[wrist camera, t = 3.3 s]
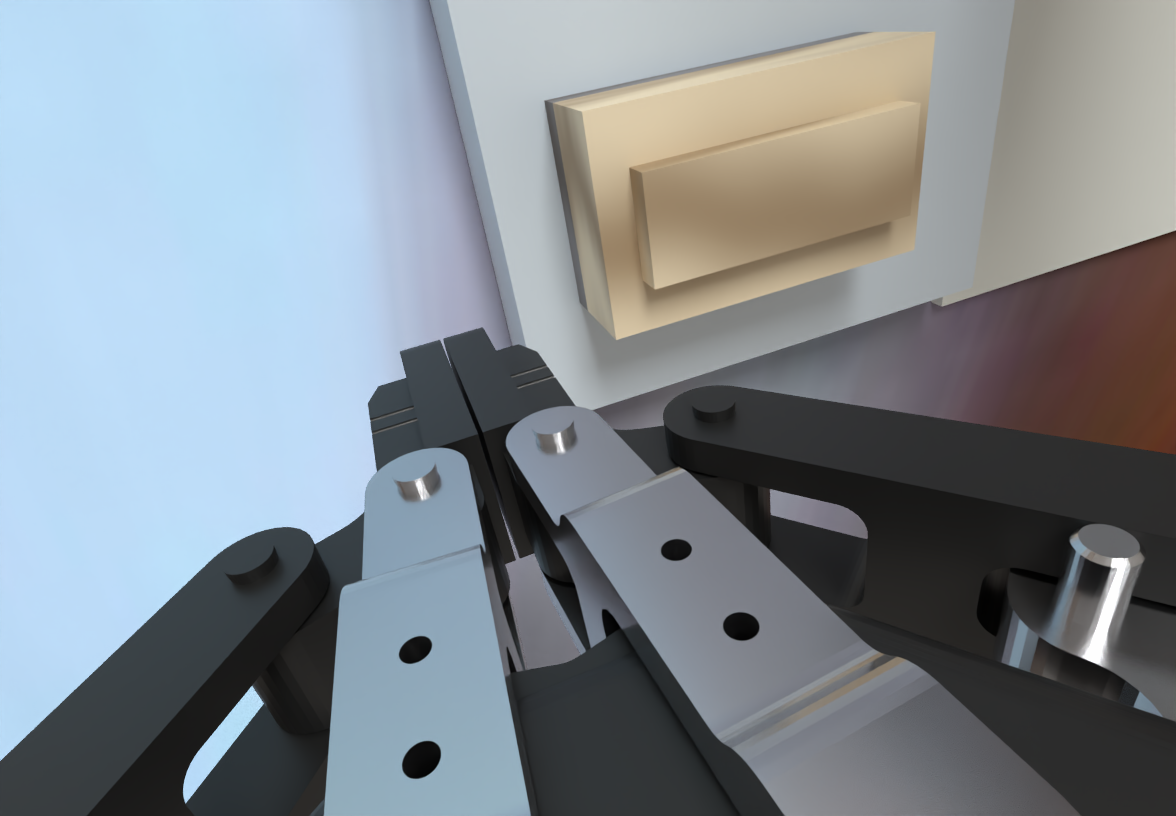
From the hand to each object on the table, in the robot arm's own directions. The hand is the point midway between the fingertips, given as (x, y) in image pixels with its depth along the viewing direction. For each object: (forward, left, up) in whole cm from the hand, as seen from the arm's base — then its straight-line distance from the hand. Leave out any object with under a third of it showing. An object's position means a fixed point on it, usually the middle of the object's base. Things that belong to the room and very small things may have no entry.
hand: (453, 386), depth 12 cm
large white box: (0, +12, -12) cm, 16 cm away
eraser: (0, +10, -9) cm, 13 cm away
